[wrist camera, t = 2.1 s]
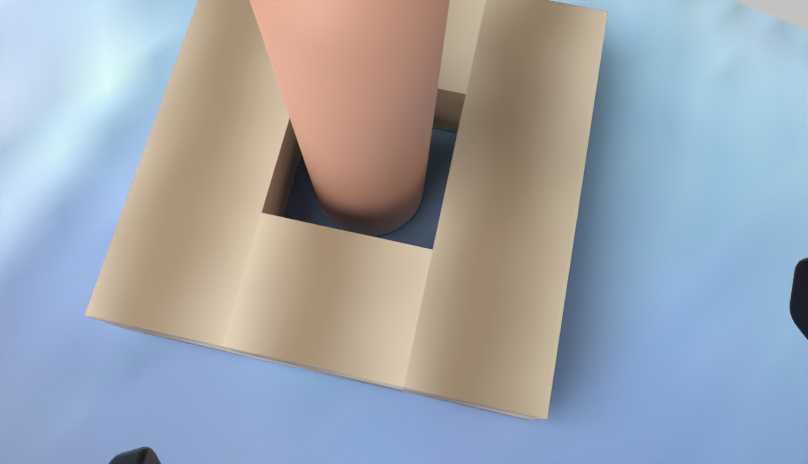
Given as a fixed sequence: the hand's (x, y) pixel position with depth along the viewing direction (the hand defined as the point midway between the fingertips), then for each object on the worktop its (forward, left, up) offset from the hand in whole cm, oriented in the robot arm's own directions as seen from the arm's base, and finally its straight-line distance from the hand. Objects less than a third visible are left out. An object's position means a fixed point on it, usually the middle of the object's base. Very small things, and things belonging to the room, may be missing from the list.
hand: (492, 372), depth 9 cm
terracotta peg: (+4, -7, -13) cm, 16 cm away
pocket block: (+4, -7, -13) cm, 16 cm away
